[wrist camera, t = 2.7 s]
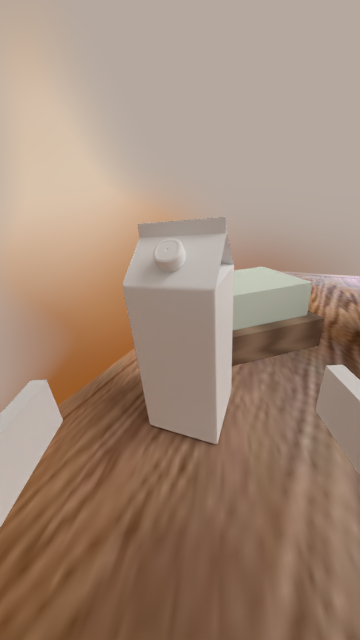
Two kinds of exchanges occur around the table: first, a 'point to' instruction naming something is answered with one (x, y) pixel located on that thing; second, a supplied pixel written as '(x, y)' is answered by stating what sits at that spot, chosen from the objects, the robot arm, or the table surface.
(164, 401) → the milk carton
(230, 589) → the table surface
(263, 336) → the tower base
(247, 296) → the tower top
